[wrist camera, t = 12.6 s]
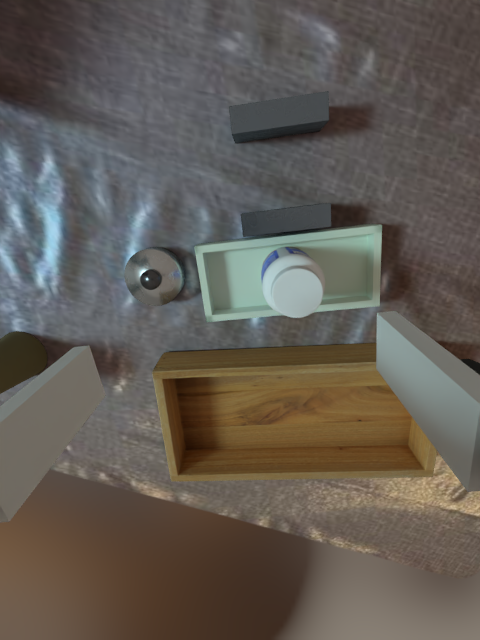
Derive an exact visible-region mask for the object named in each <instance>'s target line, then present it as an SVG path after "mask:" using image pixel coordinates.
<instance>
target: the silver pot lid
mask: <svg viewBox="0 0 480 640" xmlns="http://www.w3.org/2000/svg"><path fill="white" fill-rule="evenodd" d="M125 282H126V285H127V287H128V289H129V291H130V292H131V294H132V295H133V296H134V297H135V298H136V299H137V300H139V301H140V302H142V303H144V304H147V305H151V306H160V305H164V304H167V303H169V302H170V301H172V300H173V299H174V298H175V297H176V296H177V295H178V294H179V293H180V291H181V290H182V288H183V286H184V283H185V270H184V267H183V264H182V262H181V261H180V259H179V258H178V257H177V256H176V255H175V254H174V253H173V252H171V251H169V250H167V249H165V248H161V247H151V248H147V249H145V250H142V251H139V252H137V253H136V254H134V255H133V256H132V257H131V258H130V259H129V261H128V263H127V265H126V268H125Z"/></svg>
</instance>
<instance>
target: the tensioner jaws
mask: <svg viewBox="0 0 480 640" xmlns="http://www.w3.org/2000/svg"><path fill="white" fill-rule="evenodd" d="M229 112H230V121H231V130H232V136H233V139H234V141H235V143H241V142H248V141H255V140H262V139H269V138H276V137H282V136H289V135H296V134H303V133H310V132H317V131H320V130H321V129H322V128H323V127H324V126H325V124H326V123H327V122H328V121H329V96H328V91H326V92H320V93H313V94H307V95H300V96H294V97H287V98H281V99H274V100H268V101H261V102H255V103H248V104H242V105H235V106H229ZM241 221H242V230H243V237H246V236H254V235H263V234H272V233H280V232H289V231H297V230H306V229H315V228H323V227H331V203H324V204H315V205H307V206H299V207H290V208H282V209H274V210H266V211H258V212H250V213H242V214H241Z"/></svg>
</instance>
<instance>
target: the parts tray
mask: <svg viewBox="0 0 480 640" xmlns="http://www.w3.org/2000/svg"><path fill="white" fill-rule="evenodd" d="M381 243H382V225H380V224H365V225H356V226H348V227H339V228H330V229H322V230H313V231H305V232H296V233H287V234H279V235H270V236H261V237H253V238H244V239H235V240H227V241H218V242H210V243H201V244H198V245H196V246H194V248H195V254H196V260H197V266H198V272H199V279H200V285H201V291H202V297H203V303H204V310H205V316H206V322H213V321H224V320H235V319H246V318H256V317H267V316H278V315H283V314H280V313H278V312H276V311H275V310H274V309H272V308H271V307H270V306H269V305H268V303H267V302H266V300H265V298H264V295H263V291H262V280H261V269H262V265H263V262H264V260H265V259H266V257H267V256H268V255H269V254H270V253H271V252H272V251H274V250H276V249H278V248H281V247H295V248H298V249H300V250H302V251H304V252H305V253H306V254H307V255H309V256H310V257H311V258H312V259H313V260H314V261H315V262H316V263H317V264H318V265H319V266H320V268H321V269H322V271H323V274H324V277H325V290H324V294H323V298H322V301H321V304H320V305H319V307H318V308H317V309H316V310H315V311H314V312H321V311H331V310H342V309H353V308H364V307H374V306H380V277H381Z"/></svg>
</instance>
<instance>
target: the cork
mask: <svg viewBox="0 0 480 640" xmlns="http://www.w3.org/2000/svg"><path fill="white" fill-rule="evenodd" d="M46 364H47V353H46V350H45V348H44V346H43V345H42V344H41V343H40V341H39V340H38V339H36V338H35V337H33V336H32V335H30V334H27V333H25V332H18V331H16V332H11V333H8V334H7V335H5V336H4V337H2V338H1V339H0V394H1V393H3V392H4V391H6V390H8V389H10V388H12V387H14V386H16V385H18V384H19V383H21V382H23V381H25V380H27V379H29V378H31V377H33V376H34V375H36V374H38V373H40V372H42V371H43V370H44V368H45V367H46Z"/></svg>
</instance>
